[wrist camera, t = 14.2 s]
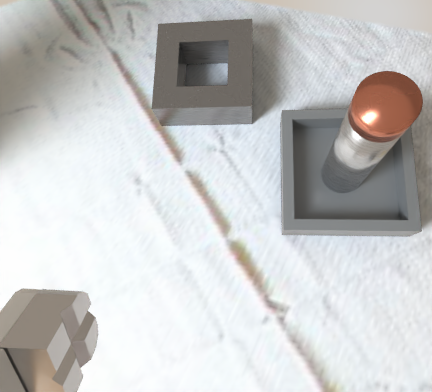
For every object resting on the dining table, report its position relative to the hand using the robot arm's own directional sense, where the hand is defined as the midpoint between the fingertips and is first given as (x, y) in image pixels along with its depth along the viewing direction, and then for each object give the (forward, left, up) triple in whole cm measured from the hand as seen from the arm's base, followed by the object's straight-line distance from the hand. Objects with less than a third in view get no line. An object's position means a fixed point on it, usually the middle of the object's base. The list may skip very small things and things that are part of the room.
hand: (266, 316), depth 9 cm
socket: (-6, +23, -29) cm, 38 cm away
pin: (+8, +12, -28) cm, 32 cm away
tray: (+8, +12, -29) cm, 33 cm away
